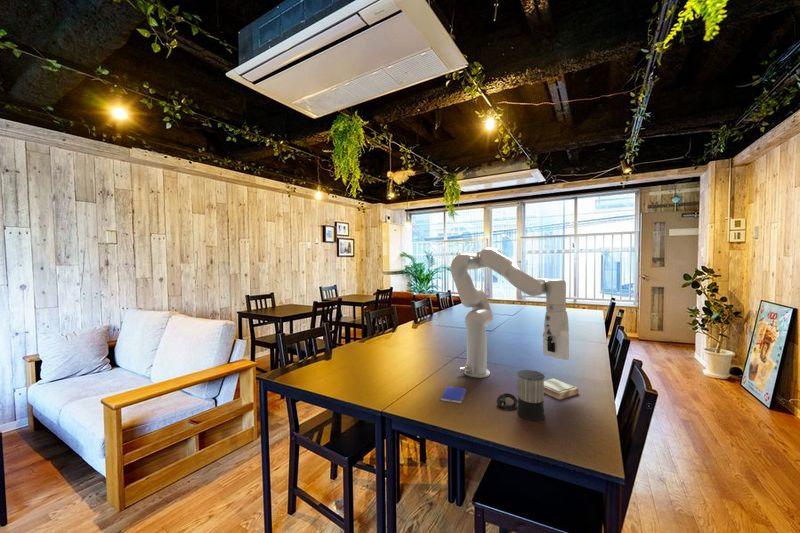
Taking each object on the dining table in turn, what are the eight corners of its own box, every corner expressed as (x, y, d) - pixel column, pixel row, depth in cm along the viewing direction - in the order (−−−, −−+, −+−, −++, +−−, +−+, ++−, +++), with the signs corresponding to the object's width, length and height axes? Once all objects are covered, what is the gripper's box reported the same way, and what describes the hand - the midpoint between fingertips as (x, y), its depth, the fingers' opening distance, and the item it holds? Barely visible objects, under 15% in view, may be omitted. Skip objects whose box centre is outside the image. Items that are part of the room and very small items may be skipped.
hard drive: (447, 386, 139) (440, 397, 128) (465, 388, 136) (461, 400, 125) (447, 389, 139) (440, 401, 128) (465, 392, 136) (461, 404, 125)
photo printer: (541, 355, 138) (541, 327, 138) (546, 353, 141) (546, 325, 141) (566, 361, 130) (566, 330, 130) (570, 358, 133) (570, 329, 133)
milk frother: (547, 422, 110) (548, 379, 109) (500, 418, 113) (500, 376, 112) (537, 404, 124) (537, 366, 123) (495, 401, 127) (495, 363, 126)
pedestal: (558, 399, 127) (558, 392, 127) (534, 388, 138) (534, 382, 138) (578, 393, 133) (578, 387, 133) (553, 383, 143) (553, 377, 143)
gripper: (550, 310, 128) (549, 355, 128) (577, 307, 136) (576, 350, 136) (534, 308, 135) (534, 351, 135) (561, 305, 142) (560, 346, 143)
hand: (555, 350), depth 136 cm, fingers closed on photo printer, 5 cm apart
